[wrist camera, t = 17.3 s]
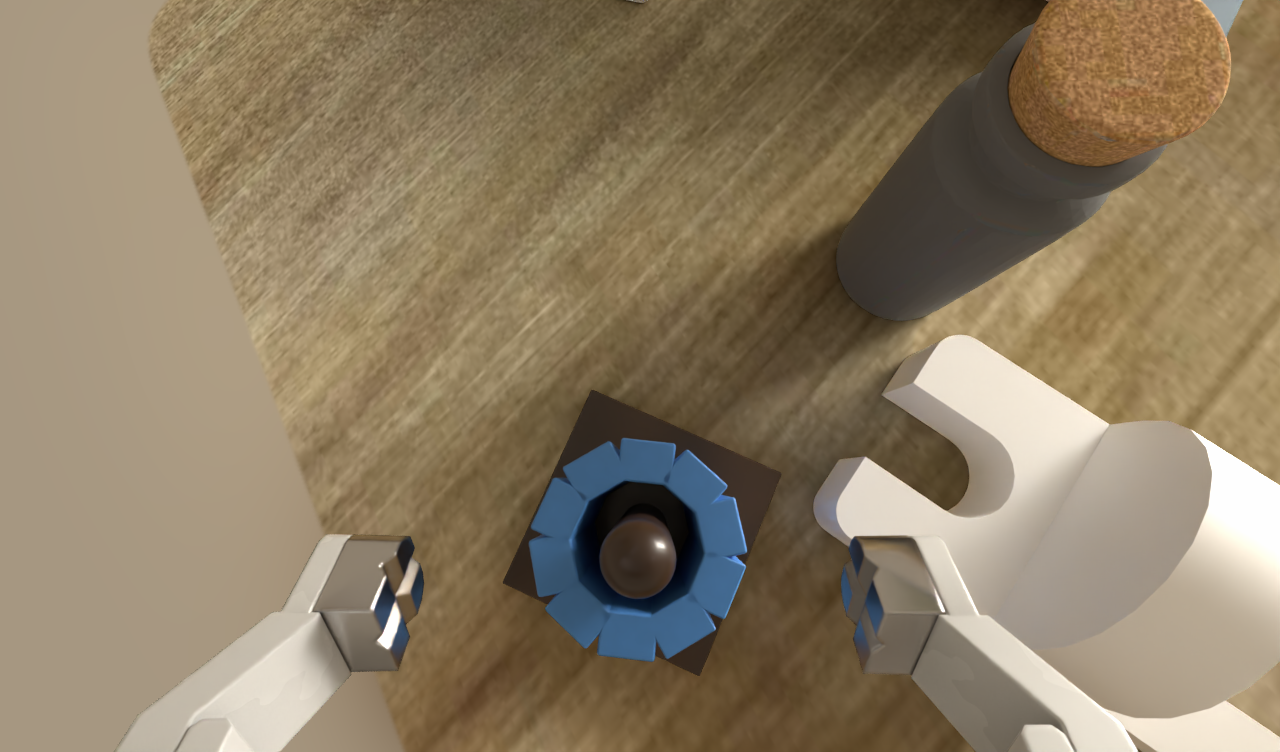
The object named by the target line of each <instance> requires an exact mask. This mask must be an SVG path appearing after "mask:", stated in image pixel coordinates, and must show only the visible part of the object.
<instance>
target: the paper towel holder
mask: <svg viewBox="0 0 1280 752" xmlns="http://www.w3.org/2000/svg"><path fill="white" fill-rule="evenodd" d="M623 438H629V439H638V440H647V441H656V442H666V443H674V444H675V445H676V450H675V459H676V458H677V457H678V456H679V455H680V454H682V453H683V452H684V451H685V450H689V451H690V452H691V453H692V454H694V455H695V456H696V457H697V458H698V459H699V460H700V461H701V462H702V463H704V464H705V465H706V466H707V467H708V468H709V469H710V470H711V471H712V472H714V473H715V474H716V475H717V476H718V477H719V478H720V479H721V480H722V481H724V482H725V483H726V484H727V489H726V490H725V491H724V492H723V493H722V494H721V495H725V496H729V497H734V498H735V500H736V504H737V508H738V512H739V517H740V521H741V526H742V530H743V534H744V539H745V543H746V547H747V553H745V554H741V555H737V556H736V557H737V558H738V559H739V560H740V561H741V562H742V563H743V564H745V563H746V561H747V558H748V556H749V553H750V551H751V548H752V546H753V544H754V541H755V539H756V536H757V534H758V531H759V529H760V526H761V524H762V521H763V519H764V516H765V514H766V512H767V509H768V507H769V504H770V502H771V499H772V497H773V494H774V492H775V489H776V487H777V484H778V482H779V479H780V477H781V475H782V473H780V472H778V471H776V470H774V469H771V468H769V467H767V466H765V465H762V464H760V463H758V462H755V461H753V460H751V459H749V458H746V457H744V456H742V455H740V454H737V453H735V452H733V451H731V450H728V449H726V448H724V447H721V446H719V445H717V444H715V443H712V442H710V441H708V440H706V439H703V438H701V437H699V436H697V435H694V434H692V433H690V432H687V431H685V430H683V429H681V428H678V427H676V426H674V425H672V424H669V423H667V422H665V421H663V420H660V419H658V418H656V417H653V416H651V415H649V414H647V413H644V412H642V411H640V410H638V409H635V408H633V407H631V406H629V405H626V404H624V403H622V402H619V401H617V400H615V399H613V398H610V397H608V396H606V395H604V394H601V393H599V392H597V391H594V390H591V392H590V394H589V396H588V398H587V400H586V403H585V405H584V407H583V409H582V411H581V413H580V416H579V418H578V420H577V422H576V424H575V427H574V429H573V431H572V433H571V435H570V437H569V440H568V442H567V444H566V446H565V448H564V450H563V453H562V455H561V457H560V459H559V461H558V463H557V466H556V468H555V470H554V472H553V474H552V476H551V479H550V481H549V483H548V485H547V487H546V490H545V492H544V494H543V496H542V498H541V500H540V503H539V505H538V507H537V509H536V511H535V513H534V516H533V518H532V520H531V522H530V524H529V526H528V529H527V531H526V533H525V535H524V537H523V539H522V542H521V544H520V546H519V548H518V550H517V553H516V555H515V557H514V559H513V561H512V563H511V566H510V568H509V570H508V572H507V574H506V576H505V579H504V581H503V583H504V584H506V585H508V586H510V587H512V588H514V589H516V590H518V591H520V592H523V593H525V594H527V595H529V596H531V597H533V598H535V599H537V600H539V601H541V602H544V603H546V604H549V602H550V601H551V600H552V599H553V598H554V596H555V595H556V594H554V595H549V596H545V597H539V596H538V594H537V588H536V582H535V577H534V571H533V565H532V559H531V554H530V548H529V541H530V540H532V539H534V538H536V537H538V536H540V535H542V534H541V533H539V532H537V531H534V530H532V528H531V525H532V522H533V520H534V518H535V516H536V514H537V512H538V509H539V507H540V505H541V503H542V501H543V499H544V497H545V494H546V492H547V490H548V488H549V486H550V484H551V481H552V479H553V478H567V476H566V475H565V473H564V471H563V467H564V466H566V465H567V464H569V463H571V462H573V461H574V460H576V459H578V458H580V457H581V456H583V455H585V454H587V453H588V452H590V451H592V450H594V449H595V448H597V447H599V446H601V445H602V444H604V443H606V442H607V441H610V442H611V443H613V444H614V445H615V446H616V447H617V448H618V449H619V450H620V446H621V440H622V439H623ZM595 525H596V530H597V535H598V541H599V546H600V568H601V572H602V574H603V577H604V579H605V580H606V582H607V583H608V585H609V586H610V587H611V588H612V589H613V590H614V591H616V592H617V593H619V594H620V595H622V596H625V597H628V598H632V599H644V598H648V597H651V596H654V595H656V594H657V593H659V592H660V591H662V590H663V589H664V588H665V587H666V586H667V585H668V583H669V582H670V580H671V578H672V576H673V574H674V571H675V567H676V560H677V559H678V557H679V554H680V552H681V550H682V547H683V545H684V543H685V540H686V538H687V536H688V533H689V531H688V526H687V521H686V517H685V512H684V508H683V503H682V502H681V501H680V500H678V499H677V498H676V497H675V496H674V495H673V494H672V493H671V492H670V491H669V490H668V489H666V488H665V487H664V486H663V485H657V484H648V483H639V482H628V483H627V484H625V485H623V486H622V487H620V488H618V489H616V490H615V491H613V492H611V493H609V494H608V495H607V496H606V498H605V501H604V503H603V505H602V507H601V509H600V512H599V514H598V516H597V518H596V521H595ZM709 614H710V616H711V618H712V621H713V623H714V625H715V628H716V630H715V631H713V632H712V633H710V634H708V635H707V636H705V637H703V638H702V639H700V640H698V641H697V642H695V643H694V644H692V645H690V646H689V647H687V648H685V649H684V650H682V651H680V652H679V653H677V654H675V655H674V656H672V657H670V658H669V659H666V658H665V656H664V654H663V652H662V651H661V649H660V647H659V645H658V643H657V641H656V652H655V656H657V657H659V658H661V659H664V660H666V661H668V662H670V663H672V664H674V665H676V666H678V667H680V668H683V669H685V670H687V671H689V672H691V673H693V674H695V675H697V676H700V674H701V672H702V669H703V667H704V664H705V662H706V659H707V657H708V654H709V652H710V649H711V647H712V644H713V642H714V640H715V637H716V635H717V632H718V630H719V627H720V625H721V622H722V620H723V619H721V618H719V617H717V616H715V615H713V614H711V613H709Z"/></svg>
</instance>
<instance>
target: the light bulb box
mask: <svg viewBox="0 0 1280 752" xmlns="http://www.w3.org/2000/svg"><path fill="white" fill-rule="evenodd" d="M628 1H633V2H638V3H645V2H646V1H647V0H628Z"/></svg>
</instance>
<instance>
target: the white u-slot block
mask: <svg viewBox="0 0 1280 752" xmlns="http://www.w3.org/2000/svg"><path fill="white" fill-rule="evenodd" d="M881 395H882V396H884V397H885V398H887V399H888V400H890V401H891V402H893V403H894V404H896V405H897V406H899V407H900V408H902V409H903V410H905V411H906V412H908V413H909V414H911V415H912V416H914V417H915V418H917V419H918V420H920V421H922V422H923V423H925V424H926V425H928V426H929V427H931V428H932V429H934V430H935V431H937V432H938V433H940V434H941V435H943V436H944V437H946V438H947V439H949V440H950V441H951V442H952V443H954V444H955V445H956V446H957V447H958V448H959V449H960V451H961V452H962V454H963V455H964V457H965V459H966V462H967V464H968V469H969V483H968V488H967V490H966V493H965V495H964V497H963V498H962V499H961V500H960V502H959V503H958V504H957V505H956V506H954V507H953V508H951V509H950V510H947V511H945V510H943V509H942V508H941V507H939V506H938V505H936V504H935V503H933V502H932V501H930V500H929V499H927V498H926V497H924V496H923V495H921V494H920V493H918V492H917V491H915V490H914V489H912V488H911V487H910V486H908V485H907V484H905V483H904V482H902V481H901V480H899V479H898V478H896V477H895V476H893V475H892V474H890V473H889V472H887V471H886V470H884V469H883V468H881V467H880V466H879V465H877V464H876V463H874V462H873V461H871V460H870V459H868V458H867V457H858V458H849V459H839V460H838V462H837V463H836V465H835V466H834V468H833V470H832V471H831V473H830V474H829V476H828V477H827V479H826V480H825V482H824V483H823V485H822V486H821V488H820V489H819V491H818V493H817V494H816V496H815V499H814V503H813V511H814V515H815V518H816V520H817V522H818V524H819V525H820V526H821V527H822V528H823V529H824V530H825V531H827V532H828V533H829V534H831V535H832V536H834V537H835V538H837V539H838V540H839V541H841V542H842V543H844V544H845V545H847V546H848V547H849V546H850V542H851V540H852V539H853V537H854V536H896V535H907V536H939V537H940V538H941V539H942V540H943V541H944V542H945V544H946V546H947V549H948V551H949V553H950V555H951V557H952V559H953V561H954V563H955V565H956V567H957V569H958V571H959V573H960V575H961V578H962V580H963V582H964V584H965V586H966V588H967V590H968V592H969V594H970V596H971V598H972V600H973V602H974V605H975V607H976V609H977V611H978V613H979V615H988V616H990V617H991V618H992V619H993V620H995V621H996V622H997V623H998V624H999V625H1001V626H1002V627H1003V628H1004V629H1006V630H1007V631H1008V632H1009V633H1011V634H1012V635H1013V636H1014V637H1016V638H1017V639H1018V640H1019V641H1020V642H1022V643H1023V644H1024V645H1025V646H1027V647H1028V648H1029V649H1030V650H1032V651H1033V652H1034V653H1035V654H1037V655H1038V656H1039V657H1040V658H1041V659H1043V660H1044V661H1045V662H1046V663H1048V664H1049V665H1050V666H1051V667H1053V668H1054V669H1055V670H1056V671H1058V672H1059V673H1060V674H1061V675H1062V676H1064V677H1065V678H1066V679H1067V680H1069V681H1070V682H1071V683H1072V684H1074V685H1075V686H1076V687H1077V688H1078V689H1080V690H1081V691H1082V692H1083V693H1085V694H1086V695H1087V696H1088V697H1090V698H1091V699H1092V700H1093V701H1095V702H1096V703H1097V704H1098V705H1099V706H1101V707H1102V708H1103V709H1104V710H1106V711H1107V712H1108V713H1109V714H1111V715H1112V716H1113V717H1114V718H1116V719H1117V720H1118V721H1119V722H1120V723H1122V725H1123V726H1124V728H1125V730H1126V732H1127V733H1128V735H1129V737H1130V738H1131V740H1132V742H1133V744H1134V745H1135V747H1136V748H1138V749H1139V750H1141V751H1142V752H1280V737H1279V736H1277V735H1276V734H1274V733H1273V732H1271V731H1270V730H1268V729H1267V728H1265V727H1264V726H1262V725H1261V724H1260V723H1258V722H1257V721H1255V720H1254V719H1252V718H1251V717H1249V716H1248V715H1246V714H1245V713H1243V712H1242V711H1240V710H1239V709H1237V708H1236V707H1234V706H1233V705H1231V704H1230V703H1228V702H1227V701H1226V700H1227V699H1229V698H1231V697H1233V696H1235V695H1237V694H1239V693H1240V692H1242V691H1244V690H1246V689H1248V688H1250V687H1251V686H1252V685H1253V684H1255V683H1256V682H1257V681H1258V680H1259V679H1260V678H1261V677H1263V676H1264V675H1265V674H1266V673H1267V672H1268V671H1270V670H1271V669H1272V668H1273V667H1274V666H1275V665H1276V664H1278V663H1279V662H1280V486H1279V485H1278V484H1276V483H1275V482H1273V481H1271V480H1270V479H1268V478H1267V477H1265V476H1264V475H1262V474H1260V473H1259V472H1257V471H1256V470H1254V469H1252V468H1251V467H1249V466H1248V465H1246V464H1245V463H1243V462H1241V461H1240V460H1238V459H1237V458H1235V457H1233V456H1232V455H1230V454H1229V453H1227V452H1226V451H1224V450H1222V449H1221V448H1219V447H1218V446H1216V445H1214V444H1213V443H1211V442H1210V441H1208V440H1206V439H1205V438H1203V437H1202V436H1200V435H1199V434H1197V433H1195V432H1194V431H1192V430H1190V429H1188V428H1185V427H1183V426H1181V425H1178V424H1176V423H1173V422H1171V421H1137V422H1128V423H1120V424H1112V425H1109V424H1108V423H1106V422H1105V421H1103V420H1102V419H1100V418H1099V417H1097V416H1095V415H1094V414H1092V413H1091V412H1089V411H1088V410H1086V409H1084V408H1083V407H1081V406H1080V405H1078V404H1077V403H1075V402H1073V401H1072V400H1070V399H1069V398H1067V397H1066V396H1064V395H1063V394H1061V393H1059V392H1058V391H1056V390H1055V389H1053V388H1052V387H1050V386H1048V385H1047V384H1045V383H1044V382H1042V381H1041V380H1039V379H1038V378H1036V377H1034V376H1033V375H1031V374H1030V373H1028V372H1027V371H1025V370H1023V369H1022V368H1020V367H1019V366H1017V365H1016V364H1014V363H1013V362H1011V361H1009V360H1008V359H1006V358H1005V357H1003V356H1002V355H1000V354H998V353H997V352H995V351H994V350H992V349H991V348H989V347H988V346H986V345H984V344H983V343H981V342H980V341H978V340H976V339H975V338H973V337H970V336H966V335H953V336H950V337H947V338H945V339H943V340H941V341H939V342H937V343H935V344H933V345H931V346H929V347H927V348H925V349H922V350H920V351H918V352H916V353H914V354H912V355H910V356H908V357H907V358H906V359H905V360H904V361H903V362H902V364H901V365H900V367H899V368H898V370H897V371H896V373H895V374H894V376H893V378H892V379H891V381H890V382H889V384H888V385H887V387H886V388H885V390H884V391H883V393H882V394H881Z"/></svg>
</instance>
